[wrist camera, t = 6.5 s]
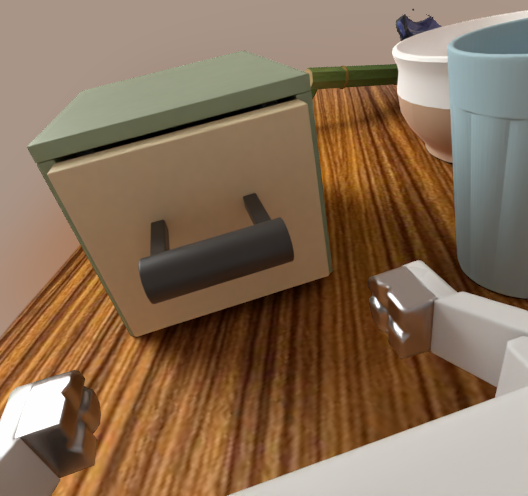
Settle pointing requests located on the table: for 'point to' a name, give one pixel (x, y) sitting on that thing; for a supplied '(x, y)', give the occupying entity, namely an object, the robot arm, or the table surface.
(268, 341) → the table surface
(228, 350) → the table surface
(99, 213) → the beige drawer
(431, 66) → the bowl
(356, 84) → the decorative plant
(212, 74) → the cabinet
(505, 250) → the cup
